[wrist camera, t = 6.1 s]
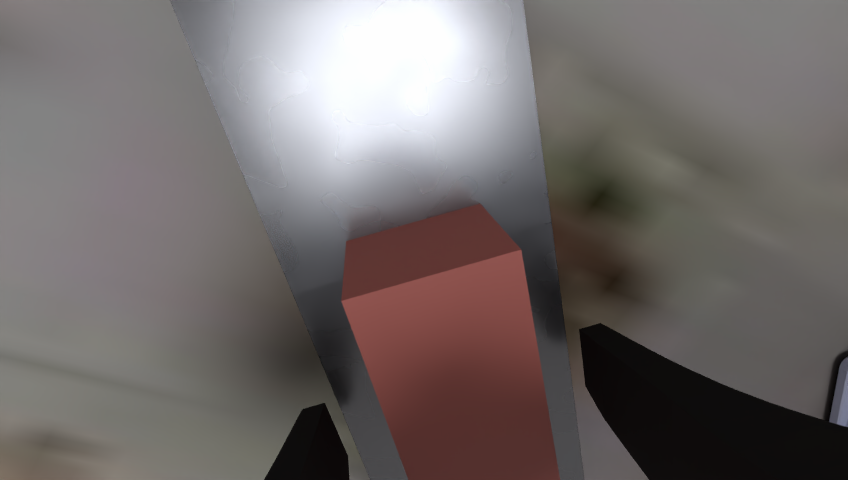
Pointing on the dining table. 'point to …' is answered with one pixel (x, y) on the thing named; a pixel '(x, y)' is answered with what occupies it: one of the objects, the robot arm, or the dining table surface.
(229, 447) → the dining table surface
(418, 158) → the rail
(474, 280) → the clip
